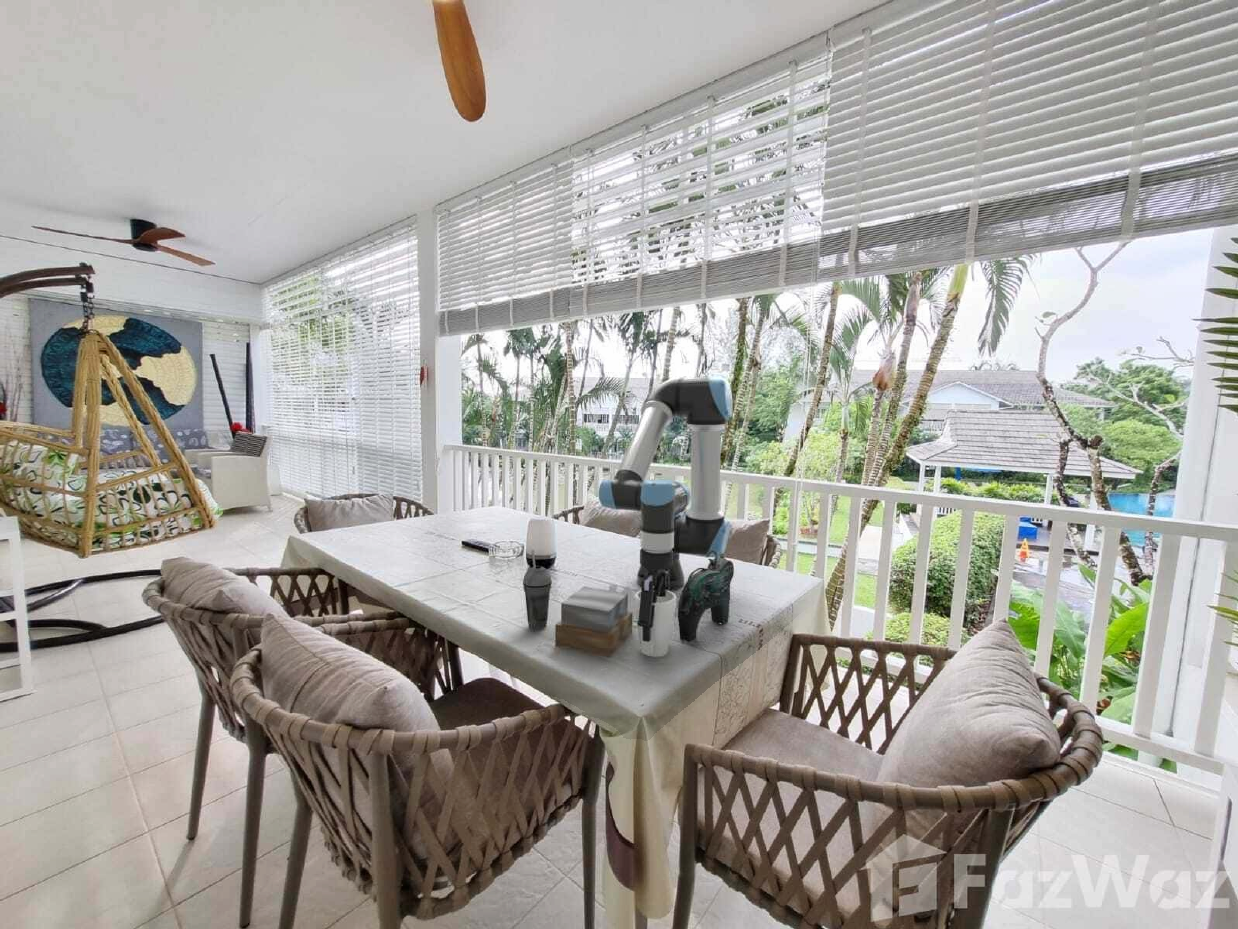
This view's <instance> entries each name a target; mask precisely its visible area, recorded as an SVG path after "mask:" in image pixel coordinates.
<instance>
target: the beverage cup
mask: <svg viewBox="0 0 1238 929" xmlns="http://www.w3.org/2000/svg"><path fill="white" fill-rule="evenodd" d="M531 556H532V557H531V558H532V565H533V566H532V567H531V568H529V569H527V571H526V572H525V574H524V577H523V580H522V585H523V591H524V596H525V606H526V607H525V608H526V617H527V623H528V624H527V625H528V629H529V628H530V629H529V630H531V631H542V630H544V628H545V627H546V628H547V624H548V617H549V616H548V615H549V606H550V605H549V604H550V592H551V588H552V584H553V581H552V575H551V574H550V572H549V570H548V569H546V568H545V567H543V566H540V565H536V560H535V552H534V549H531ZM546 628H545V629H546Z"/></svg>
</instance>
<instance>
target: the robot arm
mask: <svg viewBox="0 0 1238 929" xmlns="http://www.w3.org/2000/svg"><path fill="white" fill-rule="evenodd" d="M733 404H734V402H733V394H732V389H731V386H730V382H729V381H728V380H727V379H726V378H724V377H717V376H716V377H715V376H708V377H702V376H701V377H673V378H670V379H666V381H663V382H662V383H660V384H659V385H657V386H656V387H655V388H654V389H653V390H651V392H650V393H649V395H647V397H646V398H645V399H644V401H643V403H642V405H641V409H640V415H641V416H640V418H639V420H638V423H637V426H636V428H635V430H634V433H633V435H632V437H631V440H630V442H629V444H628V447H627V448H626V451H625V453H624V456H623V458H622V459H621V461H620V464H619V467H618V469H617V472H616V473H615V475H614V478H605V479H603V480H602V481H601V483H600V484H599V488H598V500H599V503H600V504H601V506H602V507H604V508H605V509H612V510H616V511H619V510H622V511H631V512H632V511H633V512H640V532H638V537H640V539H639V540H640V542H639V543H640V544H639V546H640V549H639V564H640V565H639V569H638V571H637V574H636V583H637V584H638V585H639V586H641V587H640V588H641V589H640V590H641V599H640V609H639V619H638V622H637V621H636V622H637V624H638V626H640V627H642V632H641V650H640V653H641V654H643V653H644V654H643V655H645V654H649V655H653V654H654V625H653V620H654V608H655V604H654V605H652V603H656V602H657V597H665V591H666V590H668V591H671V590H672V589H673V590H677V589H680V588H681V586H682V585H683V586H684V585H685V574H684V571H683V568H682V564H681V561H680V554H681V555H690V556H697V557H704V558H708V559H709V558H711V559H714V558H715V557H716V556H715V553H714V552H712V553H710V555H709V557H707V554H708V552H709V551H711V550H712V551H715V552H716V554H717V558H719V557H720V556H721V553H722V554H723V555H724V553H725V550H726V548H727V544H728V541H729V536H730V530H731V529H730V527H731V526H730V525H731V522H730V521H729V520H727V519H725V513H724V512H723V511H722V509H720V495H721V494H720V493H721V492H720V490H721V489H720V486H721V485H720V484H721V483H720V482H721V447H722V446H721V444H722V443H721V442H722V441H721V440H722V429H723V428H724V427H725V426H726V425H727V420H728V419H731V418H732V416H733V410H734V405H733ZM674 418H686V420H685V422H686V423H685V425H686V426H687V427H688V428H690V432H691V433H690V434H691V436H690V437H691V439H690V440H691V444H690V488H688V487H687V485H686V484H684V483H682V482H680V481H672V480H669V479H659V478H658V479H656V478H654V479H646V477H647V475H648V472H649V469H650V467H651V465H652V462H653V460H654V457H655V455H656V452H657V449H658V447H659V445H660V442H661V440H662V437H663V434H664V432H665V430H666V426H668V425H670V424H671V422H672V421H673V419H674ZM645 479H646V480H645ZM689 505H690V508H688V509H687V507H688V506H689ZM686 509H687V510H686ZM684 510H686V511H685V515H682V512H683V511H684ZM683 586H682V587H683ZM679 587H680V588H679ZM638 626H637V627H638Z"/></svg>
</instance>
